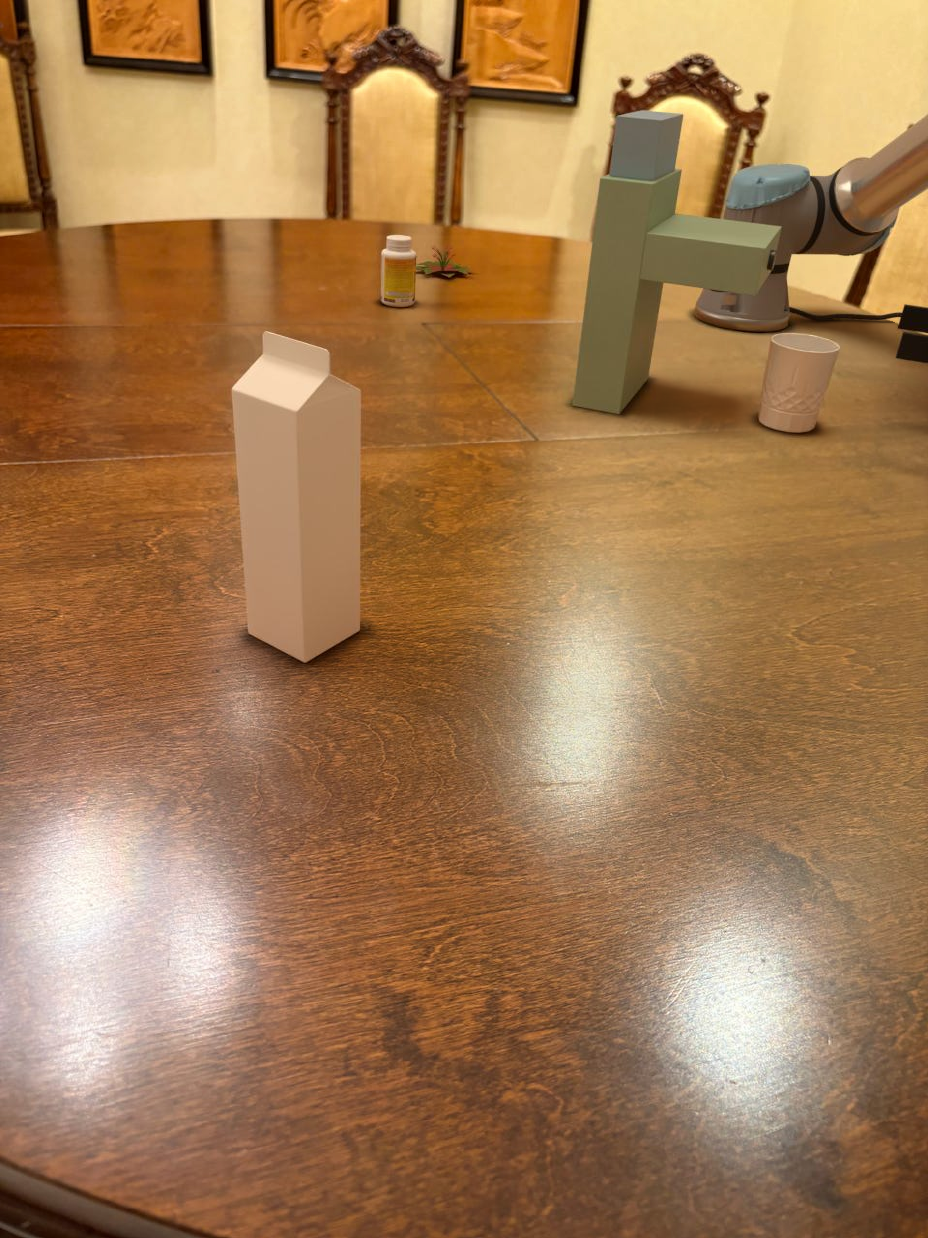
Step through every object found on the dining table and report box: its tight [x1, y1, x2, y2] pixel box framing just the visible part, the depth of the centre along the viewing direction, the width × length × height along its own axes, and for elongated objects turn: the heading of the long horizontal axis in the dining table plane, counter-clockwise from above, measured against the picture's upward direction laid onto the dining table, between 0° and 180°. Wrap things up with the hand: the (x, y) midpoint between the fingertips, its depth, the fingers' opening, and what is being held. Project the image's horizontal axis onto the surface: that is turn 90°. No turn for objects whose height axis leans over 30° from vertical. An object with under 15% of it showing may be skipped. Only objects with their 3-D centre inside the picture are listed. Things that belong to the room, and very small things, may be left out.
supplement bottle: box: [380, 234, 417, 308], centre depth 155 cm, size 6×6×10 cm
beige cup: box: [757, 332, 841, 434], centre depth 116 cm, size 8×8×10 cm
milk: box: [231, 331, 362, 663], centre depth 67 cm, size 6×6×22 cm
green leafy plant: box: [416, 245, 476, 278], centre depth 177 cm, size 12×12×5 cm
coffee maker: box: [572, 109, 782, 415], centre depth 115 cm, size 20×16×32 cm
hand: (899, 329), depth 110 cm, fingers open, 13 cm apart
